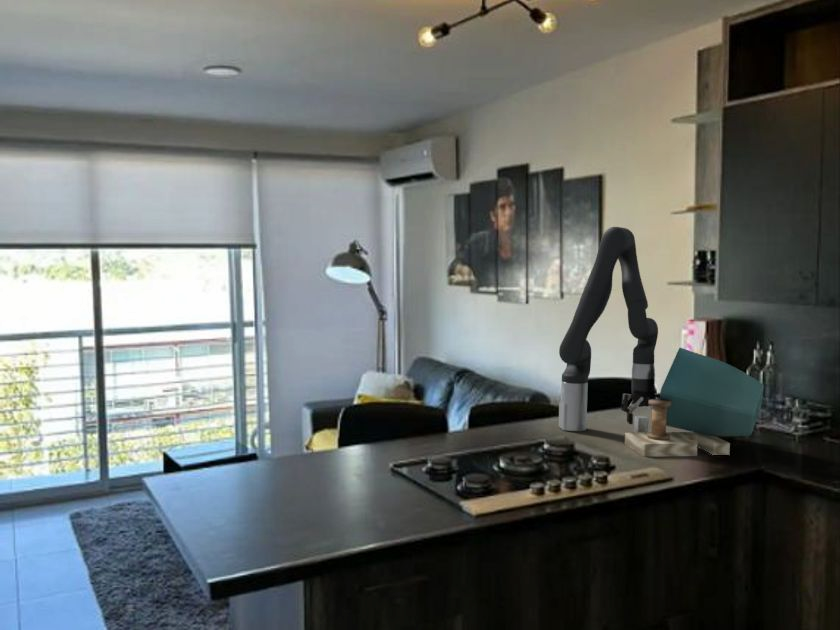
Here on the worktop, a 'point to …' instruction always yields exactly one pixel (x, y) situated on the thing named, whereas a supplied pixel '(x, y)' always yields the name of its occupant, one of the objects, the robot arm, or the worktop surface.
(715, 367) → the flower pot
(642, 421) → the tab peg
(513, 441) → the worktop surface
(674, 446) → the notched board
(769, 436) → the worktop surface
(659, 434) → the bobbin
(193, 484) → the worktop surface
